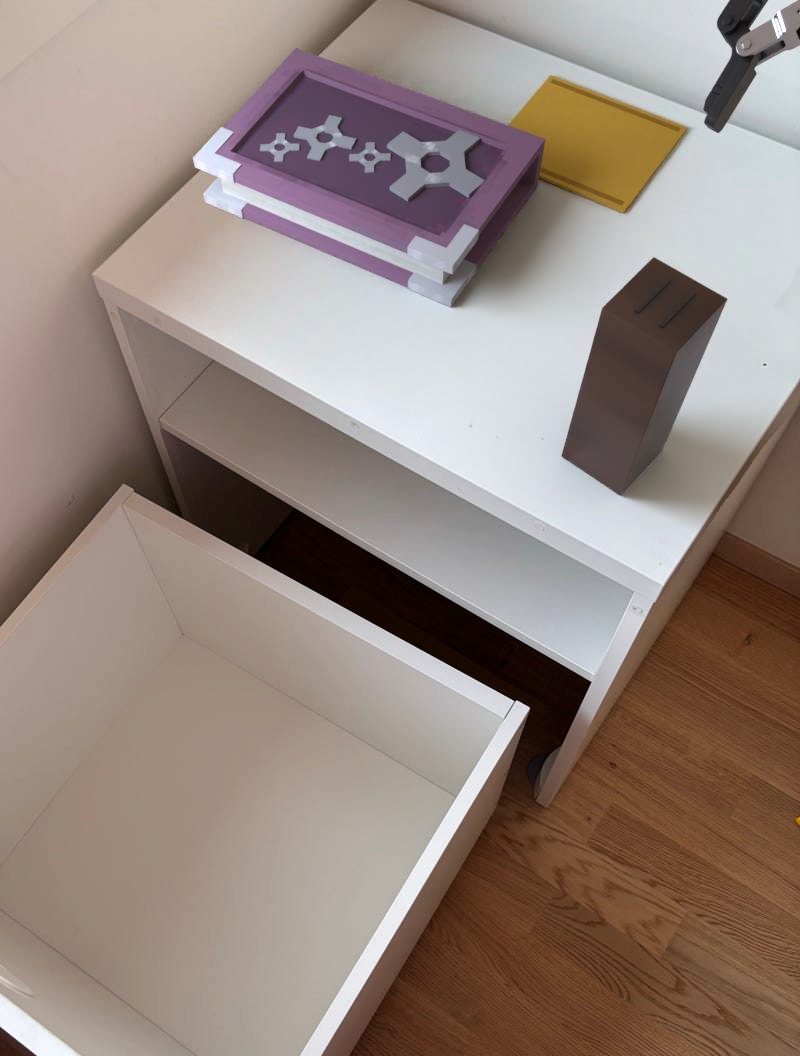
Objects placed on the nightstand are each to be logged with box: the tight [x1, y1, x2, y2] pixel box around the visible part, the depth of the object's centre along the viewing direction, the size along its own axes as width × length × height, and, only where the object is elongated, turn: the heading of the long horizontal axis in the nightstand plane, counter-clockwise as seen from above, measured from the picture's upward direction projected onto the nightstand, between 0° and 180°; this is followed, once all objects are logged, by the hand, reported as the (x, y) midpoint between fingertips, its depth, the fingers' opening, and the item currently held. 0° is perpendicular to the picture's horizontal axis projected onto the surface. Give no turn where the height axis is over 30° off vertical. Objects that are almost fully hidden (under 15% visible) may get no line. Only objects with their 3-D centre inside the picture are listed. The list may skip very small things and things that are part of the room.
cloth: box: [507, 74, 688, 214], centre depth 90 cm, size 14×12×1 cm
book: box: [192, 47, 545, 308], centre depth 87 cm, size 25×16×5 cm, turn 58°
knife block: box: [561, 256, 728, 496], centre depth 69 cm, size 6×6×16 cm
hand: (771, 159), depth 60 cm, fingers open, 8 cm apart
